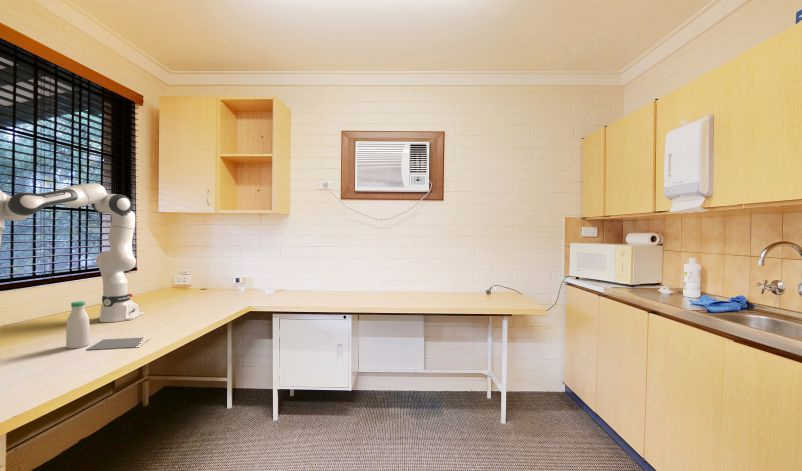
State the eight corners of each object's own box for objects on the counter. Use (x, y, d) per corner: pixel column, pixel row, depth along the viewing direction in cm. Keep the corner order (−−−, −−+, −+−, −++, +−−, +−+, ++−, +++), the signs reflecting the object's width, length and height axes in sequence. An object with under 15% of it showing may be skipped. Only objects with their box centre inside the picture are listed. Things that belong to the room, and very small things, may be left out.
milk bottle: (93, 344, 162) (93, 301, 162) (73, 350, 155) (73, 304, 155) (82, 342, 165) (82, 299, 164) (62, 347, 158) (62, 303, 157)
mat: (86, 350, 155) (86, 349, 155) (103, 340, 169) (103, 339, 169) (139, 347, 161) (139, 346, 160) (151, 337, 174) (151, 337, 174)
